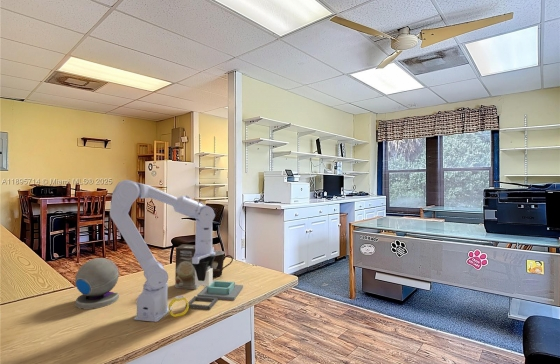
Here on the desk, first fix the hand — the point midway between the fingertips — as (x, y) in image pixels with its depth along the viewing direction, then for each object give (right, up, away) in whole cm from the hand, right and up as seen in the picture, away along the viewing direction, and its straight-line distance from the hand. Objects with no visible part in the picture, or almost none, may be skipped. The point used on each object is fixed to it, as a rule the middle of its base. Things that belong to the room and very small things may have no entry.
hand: (203, 278), depth 103 cm
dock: (+4, -9, +10) cm, 14 cm away
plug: (0, -2, 0) cm, 2 cm away
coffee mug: (-1, -8, +29) cm, 30 cm away
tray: (0, -9, 0) cm, 9 cm away
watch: (-6, -9, -9) cm, 14 cm away
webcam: (-38, -8, +1) cm, 39 cm away
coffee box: (-10, -9, +16) cm, 21 cm away
